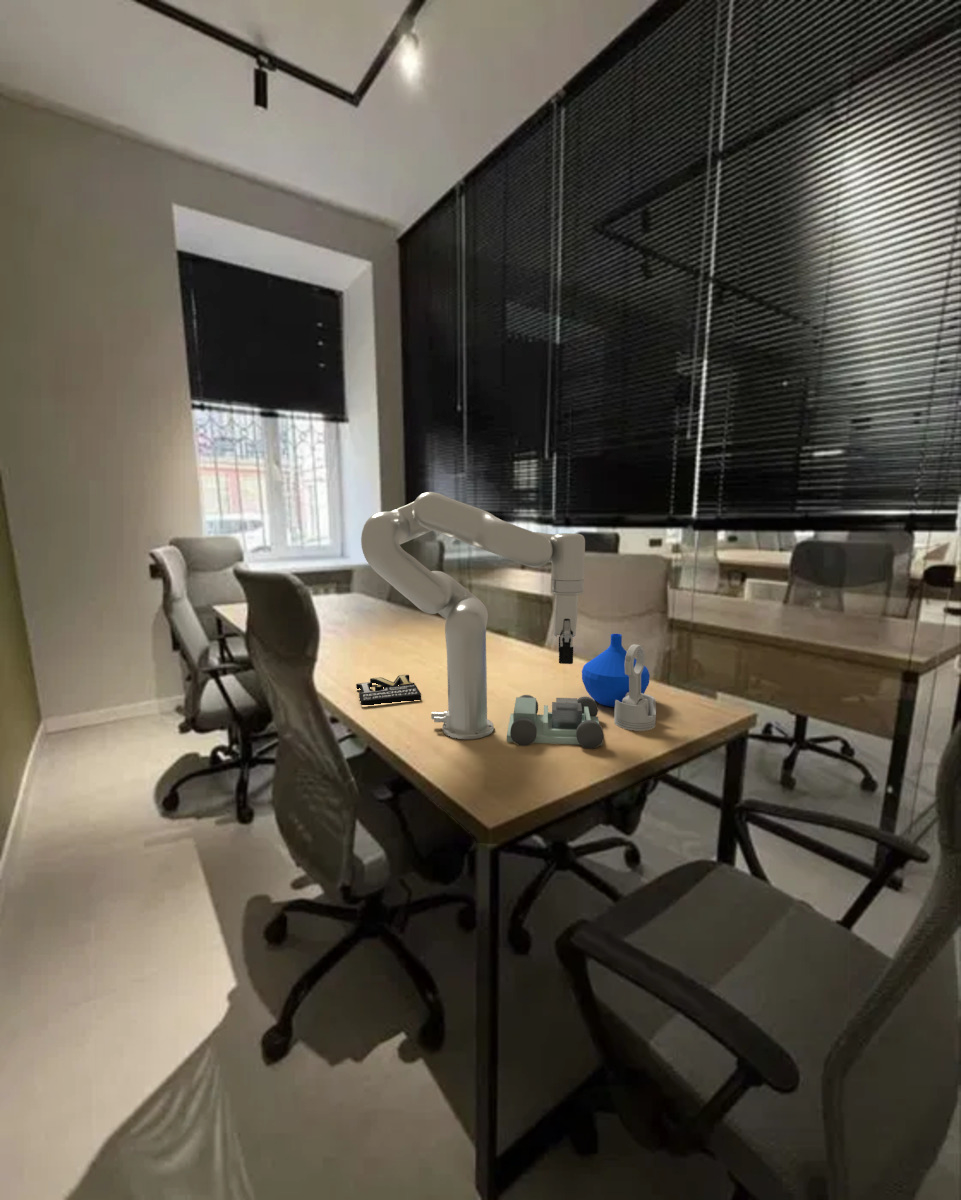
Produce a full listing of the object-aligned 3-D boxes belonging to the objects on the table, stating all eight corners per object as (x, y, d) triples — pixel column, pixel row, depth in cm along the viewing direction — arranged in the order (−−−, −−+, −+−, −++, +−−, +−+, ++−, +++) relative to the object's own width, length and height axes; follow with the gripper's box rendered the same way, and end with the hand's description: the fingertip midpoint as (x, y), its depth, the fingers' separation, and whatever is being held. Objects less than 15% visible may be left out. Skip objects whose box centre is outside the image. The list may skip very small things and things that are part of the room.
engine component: (661, 721, 140) (624, 712, 146) (665, 643, 136) (627, 637, 143) (644, 735, 131) (605, 725, 138) (647, 652, 128) (607, 645, 134)
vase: (593, 687, 167) (594, 625, 164) (655, 696, 158) (657, 631, 155) (571, 706, 151) (572, 638, 148) (639, 717, 142) (641, 645, 139)
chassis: (505, 745, 127) (505, 718, 126) (511, 716, 144) (511, 692, 143) (603, 749, 124) (604, 721, 123) (596, 719, 142) (597, 695, 141)
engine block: (551, 730, 131) (552, 704, 130) (551, 721, 137) (552, 696, 136) (581, 731, 131) (582, 704, 130) (580, 722, 136) (580, 697, 135)
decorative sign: (361, 701, 152) (354, 679, 170) (361, 709, 152) (355, 687, 171) (421, 694, 157) (408, 674, 176) (422, 702, 157) (409, 682, 176)
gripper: (551, 581, 137) (549, 648, 140) (550, 591, 120) (549, 667, 123) (581, 582, 136) (579, 649, 139) (585, 592, 120) (583, 668, 122)
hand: (565, 657), depth 131 cm, fingers open, 9 cm apart
